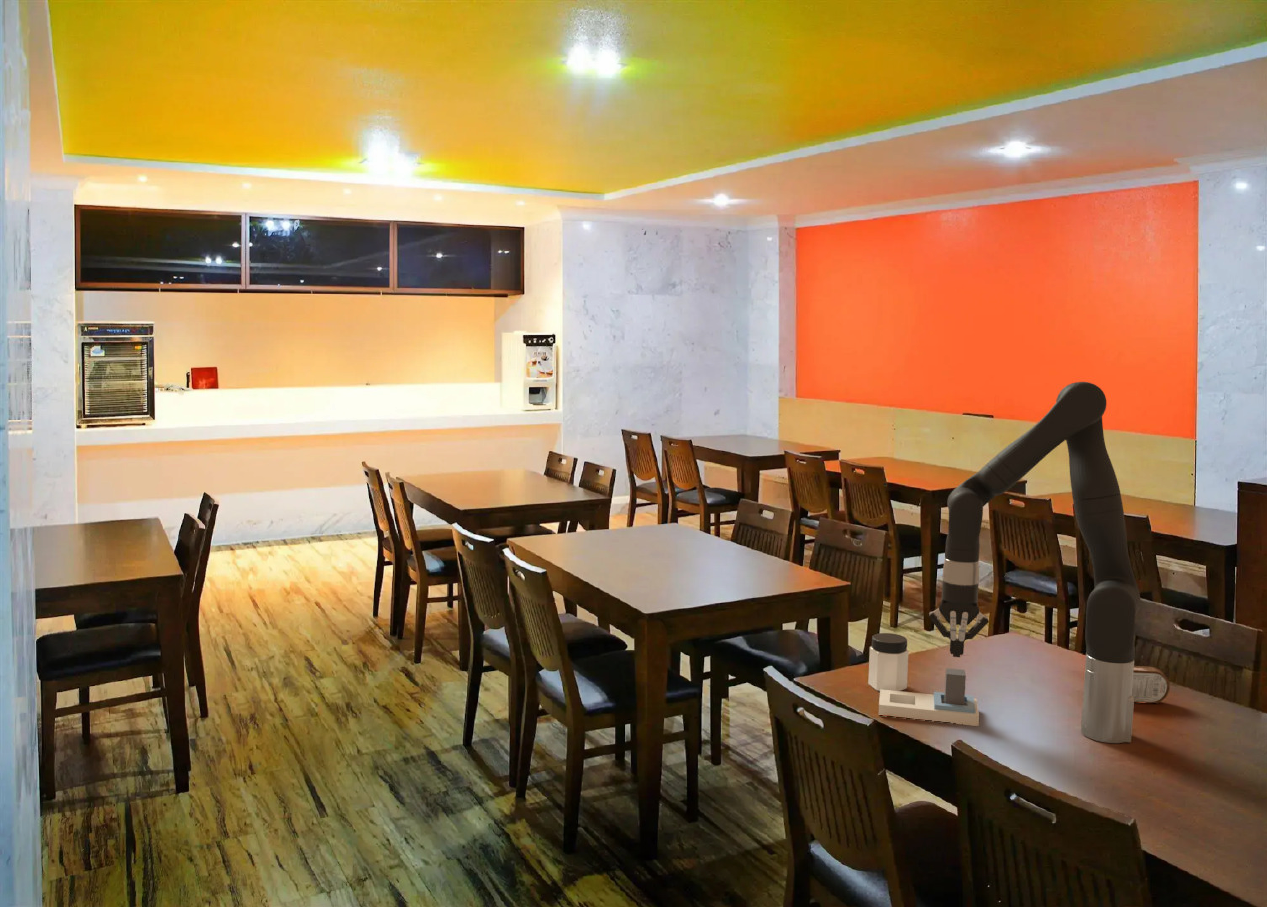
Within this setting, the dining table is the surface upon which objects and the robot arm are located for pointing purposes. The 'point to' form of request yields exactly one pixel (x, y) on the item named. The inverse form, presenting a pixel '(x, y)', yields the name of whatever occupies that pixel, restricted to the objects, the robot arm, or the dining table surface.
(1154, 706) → the dining table surface
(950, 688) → the plug
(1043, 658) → the dining table surface
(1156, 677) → the tin
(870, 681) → the jar
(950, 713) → the socket block
